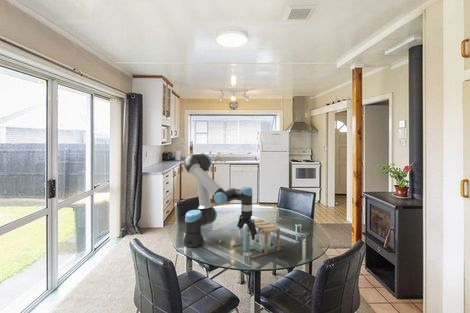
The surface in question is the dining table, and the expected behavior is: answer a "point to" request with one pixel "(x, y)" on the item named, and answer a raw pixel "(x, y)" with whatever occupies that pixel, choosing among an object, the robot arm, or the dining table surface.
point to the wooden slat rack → (266, 228)
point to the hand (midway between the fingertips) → (246, 240)
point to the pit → (279, 242)
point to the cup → (262, 238)
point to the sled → (248, 242)
